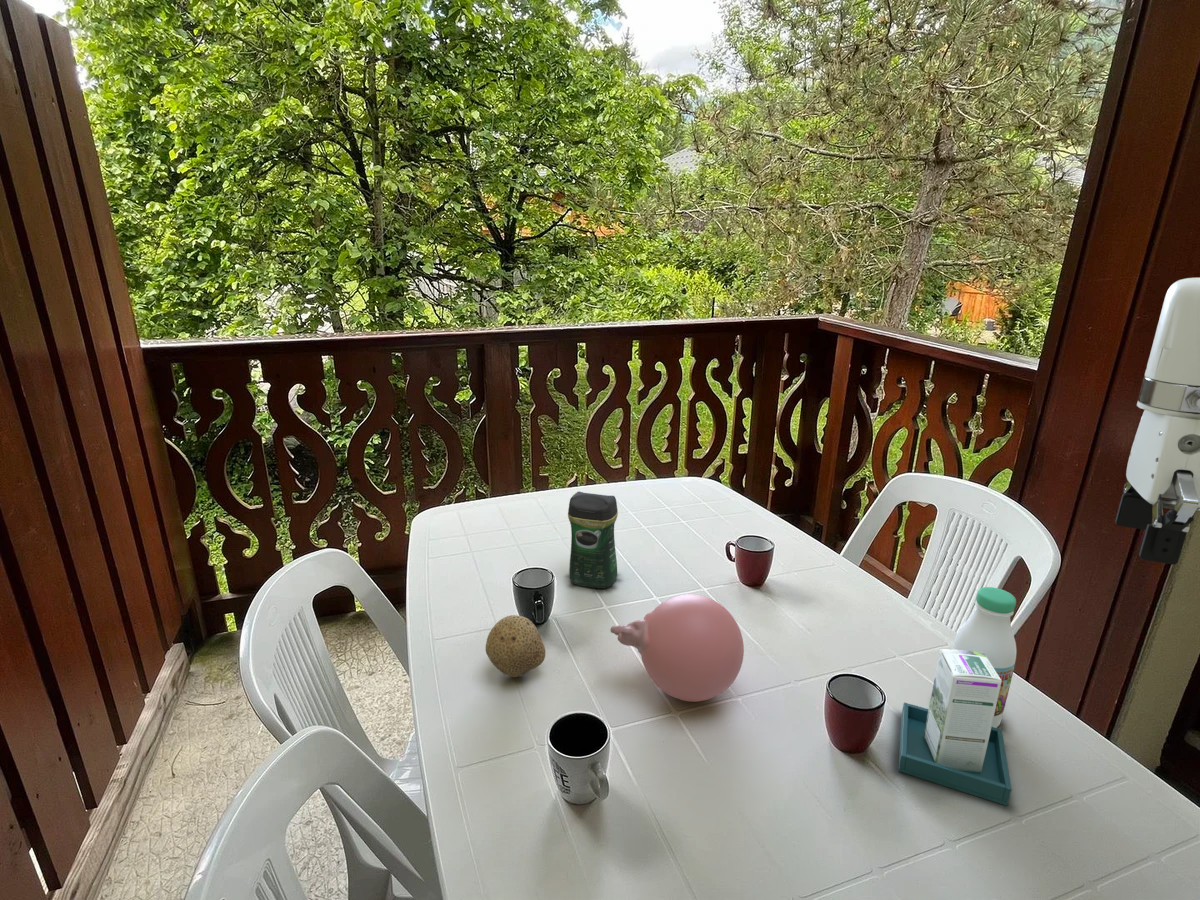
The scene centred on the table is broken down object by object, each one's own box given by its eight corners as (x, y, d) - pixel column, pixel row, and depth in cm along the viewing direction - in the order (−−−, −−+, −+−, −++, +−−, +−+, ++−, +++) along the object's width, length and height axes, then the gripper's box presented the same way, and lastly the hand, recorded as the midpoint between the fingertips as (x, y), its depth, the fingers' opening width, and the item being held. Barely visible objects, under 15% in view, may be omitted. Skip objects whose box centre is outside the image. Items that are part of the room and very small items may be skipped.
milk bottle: (928, 702, 96) (952, 584, 89) (968, 692, 98) (994, 576, 92) (970, 738, 89) (999, 613, 82) (1013, 726, 91) (1044, 604, 85)
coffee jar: (621, 574, 132) (622, 490, 126) (609, 593, 125) (610, 505, 119) (577, 566, 135) (577, 484, 129) (563, 584, 128) (562, 499, 122)
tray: (998, 744, 87) (1001, 729, 87) (1007, 806, 78) (1011, 789, 77) (901, 716, 93) (903, 702, 92) (898, 771, 83) (901, 755, 82)
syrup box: (982, 774, 82) (1006, 680, 77) (934, 767, 83) (954, 674, 78) (966, 741, 87) (987, 651, 83) (920, 736, 88) (938, 646, 84)
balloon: (618, 649, 107) (620, 568, 103) (739, 664, 104) (746, 581, 99) (600, 711, 93) (601, 621, 88) (740, 732, 89) (748, 638, 85)
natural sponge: (479, 664, 103) (476, 610, 100) (530, 649, 107) (528, 597, 104) (497, 698, 96) (494, 641, 93) (551, 680, 100) (550, 625, 97)
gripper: (1270, 420, 59) (1216, 584, 64) (1199, 385, 74) (1160, 520, 79) (1167, 412, 62) (1123, 569, 67) (1119, 380, 77) (1086, 510, 82)
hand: (1143, 542), depth 73 cm, fingers open, 9 cm apart
